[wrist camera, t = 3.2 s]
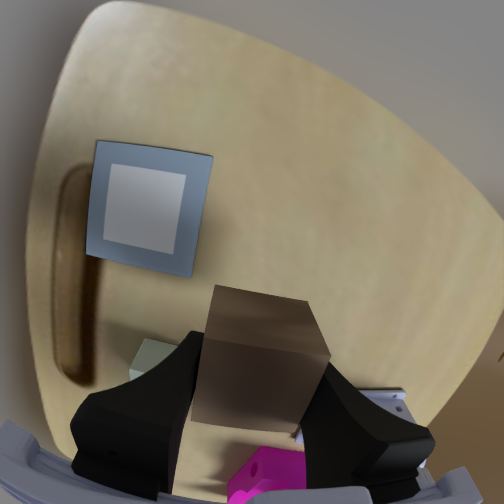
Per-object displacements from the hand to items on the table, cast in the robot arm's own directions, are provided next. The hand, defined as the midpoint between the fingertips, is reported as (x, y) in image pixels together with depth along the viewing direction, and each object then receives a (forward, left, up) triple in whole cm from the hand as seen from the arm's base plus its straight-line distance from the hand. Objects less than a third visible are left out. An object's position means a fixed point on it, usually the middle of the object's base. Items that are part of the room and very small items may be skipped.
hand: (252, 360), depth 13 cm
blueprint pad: (+8, -4, -8) cm, 12 cm away
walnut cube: (0, 0, -2) cm, 2 cm away
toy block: (-7, +25, -8) cm, 28 cm away
